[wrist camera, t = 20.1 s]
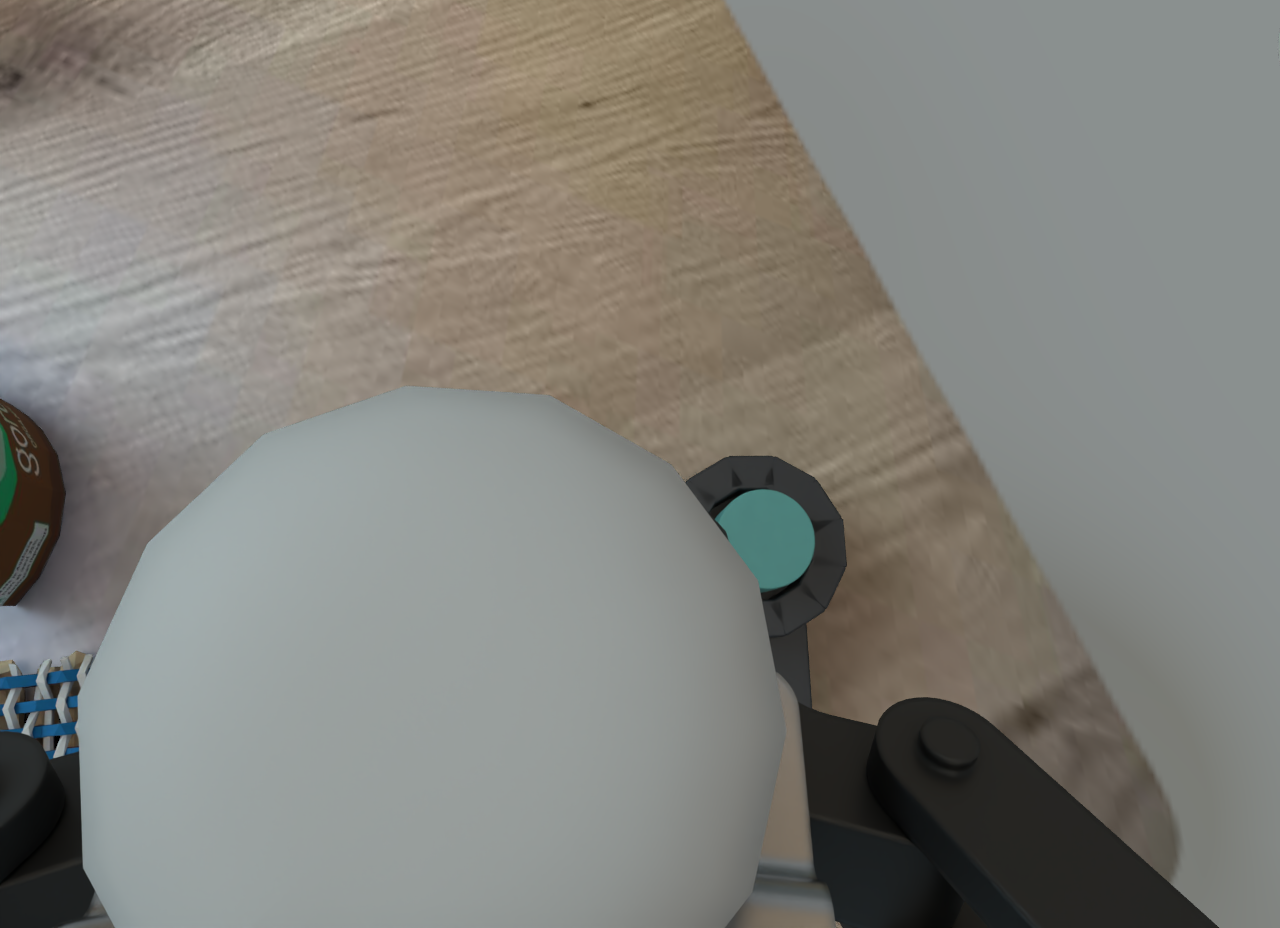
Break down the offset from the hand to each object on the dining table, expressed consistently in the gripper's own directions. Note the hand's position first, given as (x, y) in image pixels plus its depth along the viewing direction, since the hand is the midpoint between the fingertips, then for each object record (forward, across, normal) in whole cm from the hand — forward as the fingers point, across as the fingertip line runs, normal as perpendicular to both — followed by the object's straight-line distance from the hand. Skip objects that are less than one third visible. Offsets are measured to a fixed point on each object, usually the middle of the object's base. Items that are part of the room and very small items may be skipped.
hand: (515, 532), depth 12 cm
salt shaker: (+3, 0, -6) cm, 6 cm away
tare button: (+12, +7, -10) cm, 17 cm away
